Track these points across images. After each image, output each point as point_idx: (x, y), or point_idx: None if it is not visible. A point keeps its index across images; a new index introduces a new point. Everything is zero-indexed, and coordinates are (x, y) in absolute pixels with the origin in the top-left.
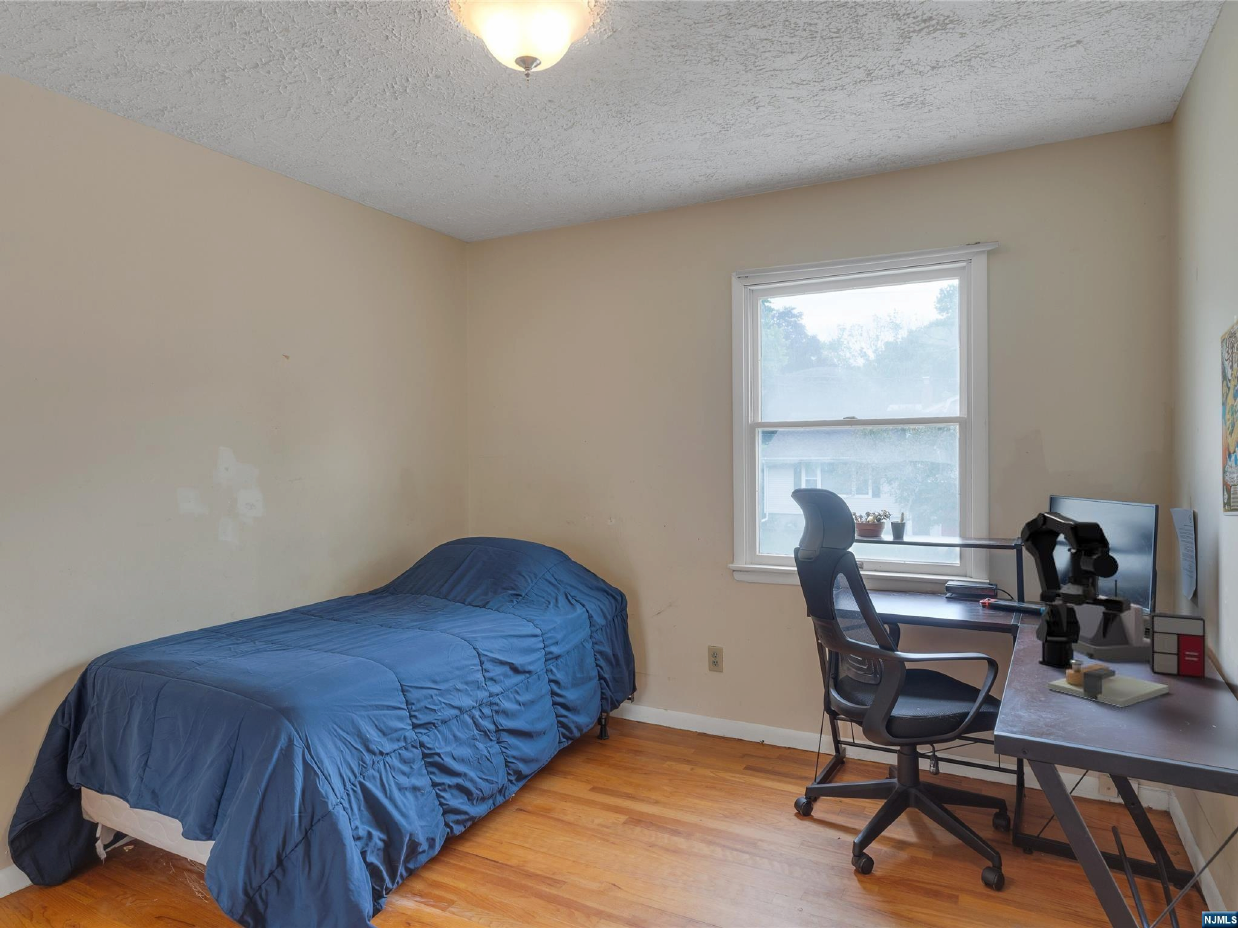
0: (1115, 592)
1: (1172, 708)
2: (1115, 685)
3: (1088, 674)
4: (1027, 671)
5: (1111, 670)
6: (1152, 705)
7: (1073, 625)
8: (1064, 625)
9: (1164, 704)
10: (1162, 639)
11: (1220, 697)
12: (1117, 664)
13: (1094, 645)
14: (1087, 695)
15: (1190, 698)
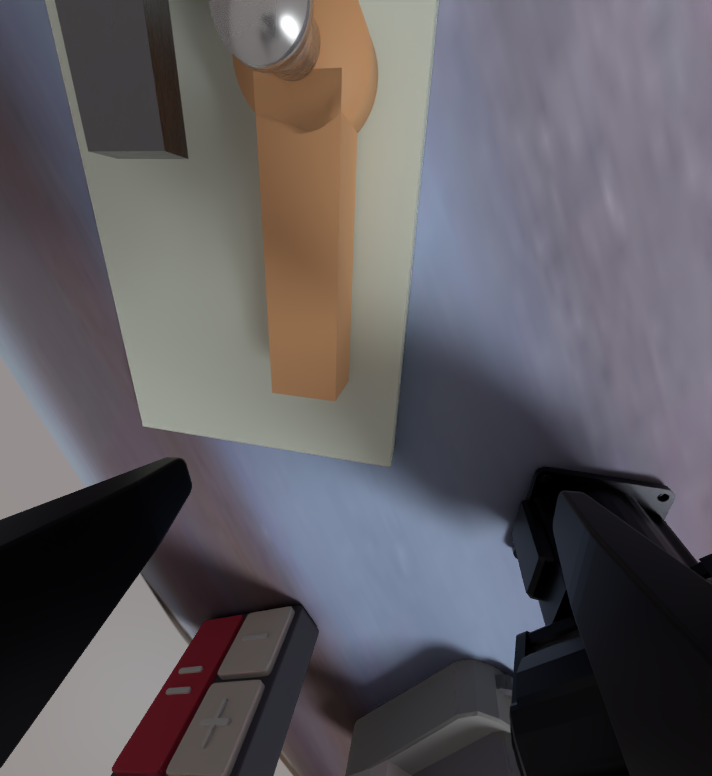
0: None
1: (27, 199)
2: (215, 255)
3: None
4: (686, 268)
5: (94, 123)
6: (67, 170)
7: (555, 746)
8: (584, 566)
9: (67, 232)
10: (215, 741)
11: (84, 465)
12: (408, 638)
13: (501, 734)
14: None
15: (96, 391)
